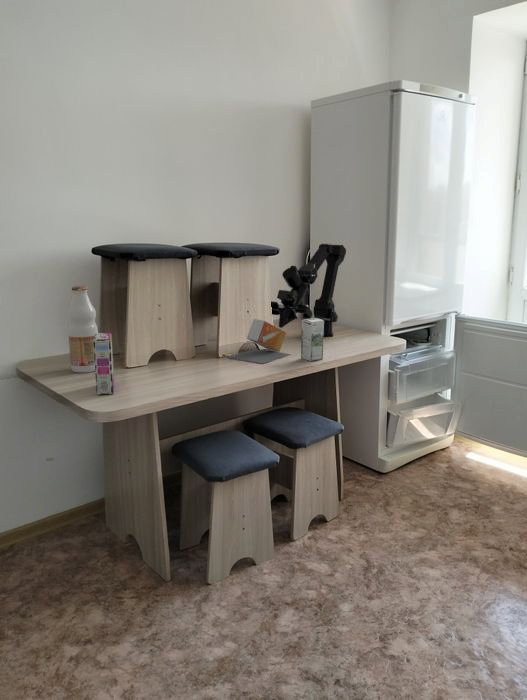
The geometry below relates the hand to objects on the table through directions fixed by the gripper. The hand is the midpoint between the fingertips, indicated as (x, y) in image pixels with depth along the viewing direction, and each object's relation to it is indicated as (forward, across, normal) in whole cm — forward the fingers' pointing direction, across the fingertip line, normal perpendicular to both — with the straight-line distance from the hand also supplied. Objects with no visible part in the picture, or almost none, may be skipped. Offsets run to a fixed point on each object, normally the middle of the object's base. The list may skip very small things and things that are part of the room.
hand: (280, 327), depth 218 cm
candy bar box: (+58, -12, -45) cm, 75 cm away
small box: (+4, 0, +3) cm, 6 cm away
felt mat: (+16, 0, -3) cm, 16 cm away
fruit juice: (+51, -37, -37) cm, 73 cm away
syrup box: (+10, +18, +2) cm, 21 cm away
